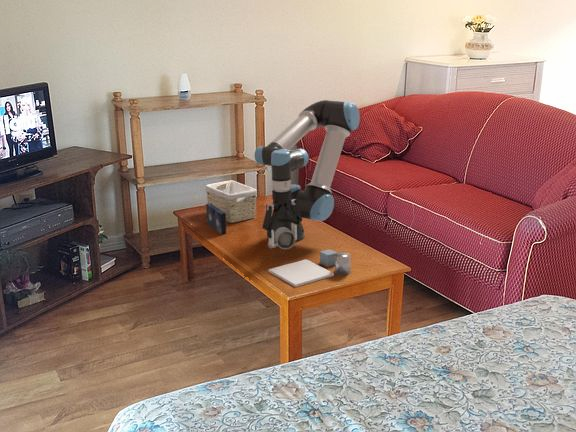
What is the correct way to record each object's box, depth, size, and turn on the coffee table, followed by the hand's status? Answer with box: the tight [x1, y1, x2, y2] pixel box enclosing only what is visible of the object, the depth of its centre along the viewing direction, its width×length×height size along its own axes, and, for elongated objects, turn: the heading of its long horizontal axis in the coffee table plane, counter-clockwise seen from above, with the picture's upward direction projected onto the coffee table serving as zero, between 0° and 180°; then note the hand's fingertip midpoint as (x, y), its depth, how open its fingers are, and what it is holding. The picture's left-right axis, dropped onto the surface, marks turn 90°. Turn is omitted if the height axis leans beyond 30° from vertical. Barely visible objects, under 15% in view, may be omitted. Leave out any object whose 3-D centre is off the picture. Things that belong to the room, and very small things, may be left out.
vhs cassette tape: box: [205, 202, 227, 235], centre depth 309 cm, size 18×3×10 cm, turn 26°
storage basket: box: [205, 179, 258, 224], centre depth 327 cm, size 24×16×15 cm
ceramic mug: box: [267, 227, 296, 250], centre depth 272 cm, size 11×8×8 cm
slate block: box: [319, 248, 338, 268], centre depth 268 cm, size 5×5×5 cm
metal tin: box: [334, 252, 352, 276], centre depth 259 cm, size 6×6×7 cm
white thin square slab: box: [268, 259, 335, 288], centre depth 259 cm, size 18×18×1 cm
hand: (283, 241), depth 272 cm, fingers closed on ceramic mug, 10 cm apart
